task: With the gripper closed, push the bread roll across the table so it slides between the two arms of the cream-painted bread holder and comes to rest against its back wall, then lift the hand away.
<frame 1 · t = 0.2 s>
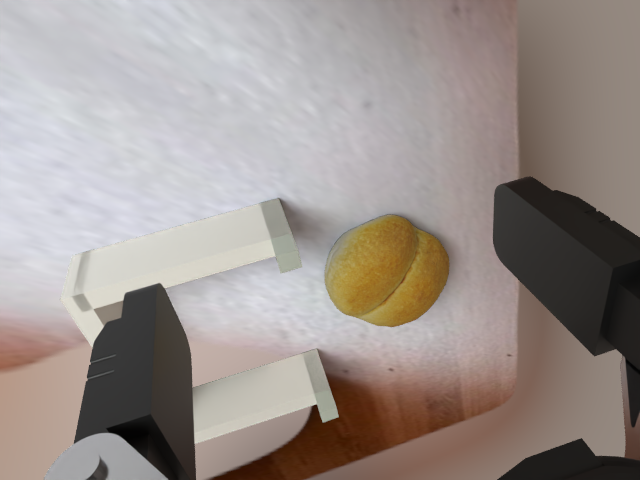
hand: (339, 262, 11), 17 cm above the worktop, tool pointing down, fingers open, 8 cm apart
bread roll: (380, 260, 36), on the worktop
holder: (220, 313, 34), on the worktop
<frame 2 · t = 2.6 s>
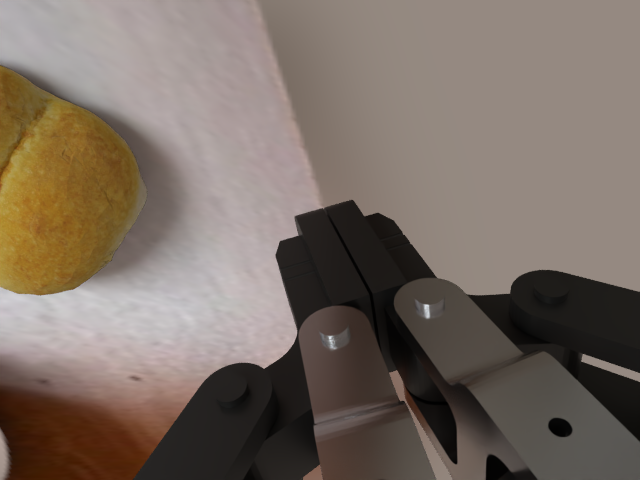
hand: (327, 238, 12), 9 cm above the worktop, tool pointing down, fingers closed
bread roll: (23, 172, 19), on the worktop
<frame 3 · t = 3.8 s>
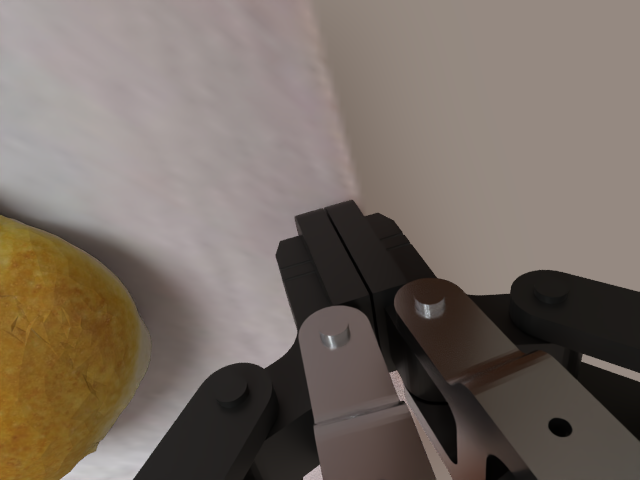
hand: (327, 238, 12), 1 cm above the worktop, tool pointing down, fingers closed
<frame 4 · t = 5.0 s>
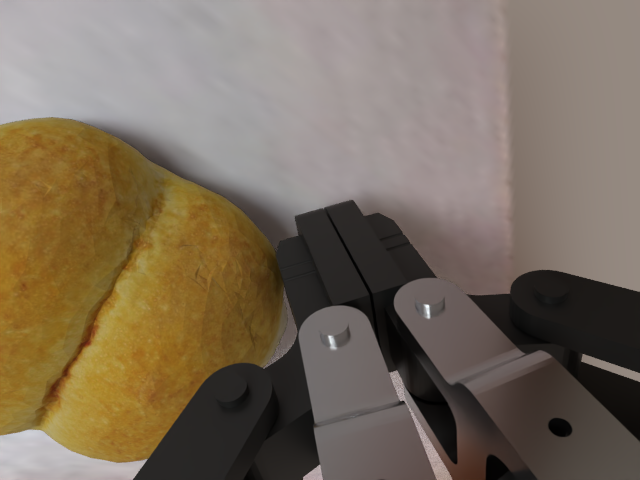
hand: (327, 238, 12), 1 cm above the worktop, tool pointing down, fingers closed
bread roll: (104, 273, 13), on the worktop, touching gripper
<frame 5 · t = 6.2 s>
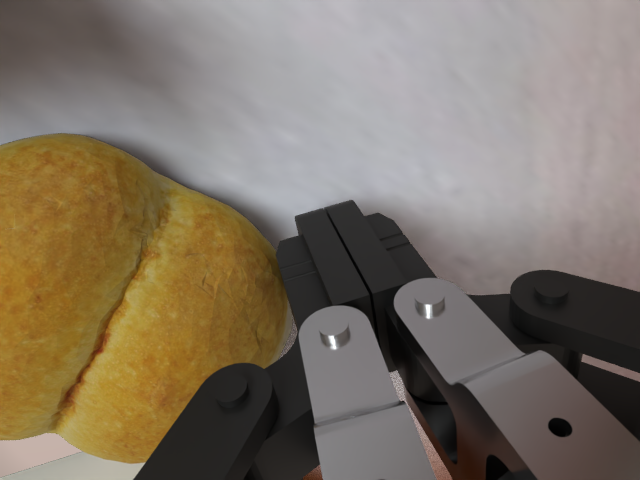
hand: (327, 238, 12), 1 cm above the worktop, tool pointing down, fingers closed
bread roll: (114, 280, 13), on the worktop
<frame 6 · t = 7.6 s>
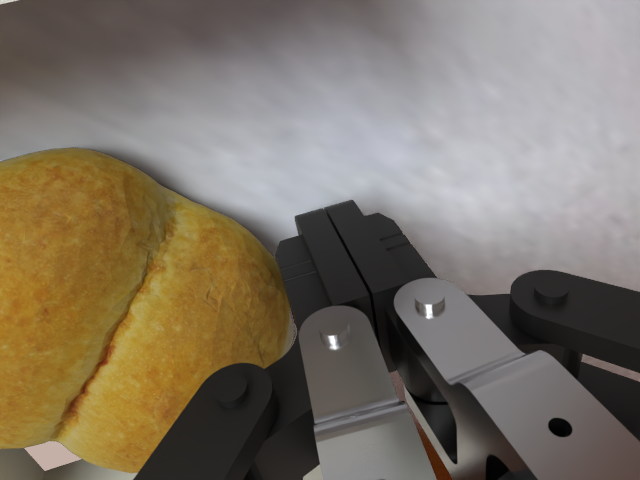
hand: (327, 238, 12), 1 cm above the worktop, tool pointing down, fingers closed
bread roll: (117, 290, 13), on the worktop, touching gripper
holder: (139, 265, 13), on the worktop
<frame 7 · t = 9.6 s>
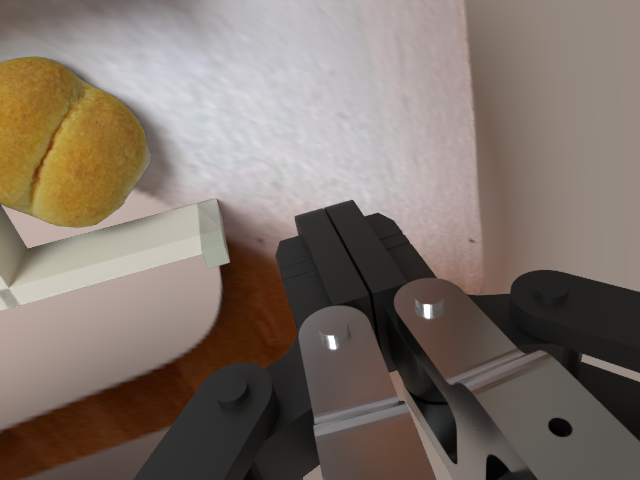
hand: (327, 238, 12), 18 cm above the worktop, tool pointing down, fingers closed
bread roll: (63, 139, 27), on the worktop
holder: (73, 121, 26), on the worktop
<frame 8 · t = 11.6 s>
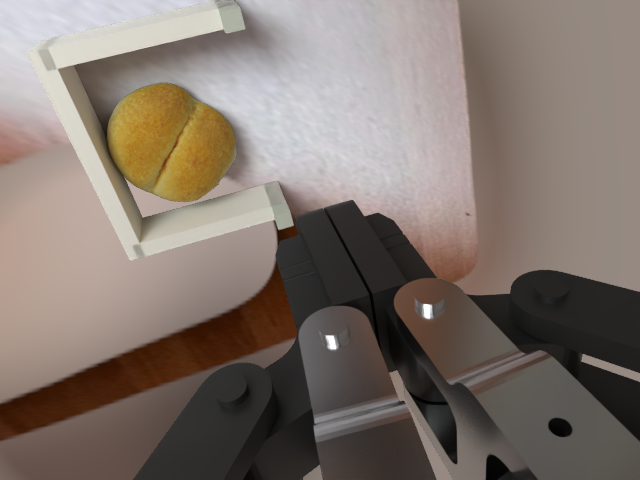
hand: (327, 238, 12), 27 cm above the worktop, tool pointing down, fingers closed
bread roll: (174, 139, 38), on the worktop
holder: (182, 125, 37), on the worktop
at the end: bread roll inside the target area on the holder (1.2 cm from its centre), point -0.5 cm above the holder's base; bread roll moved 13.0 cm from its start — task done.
